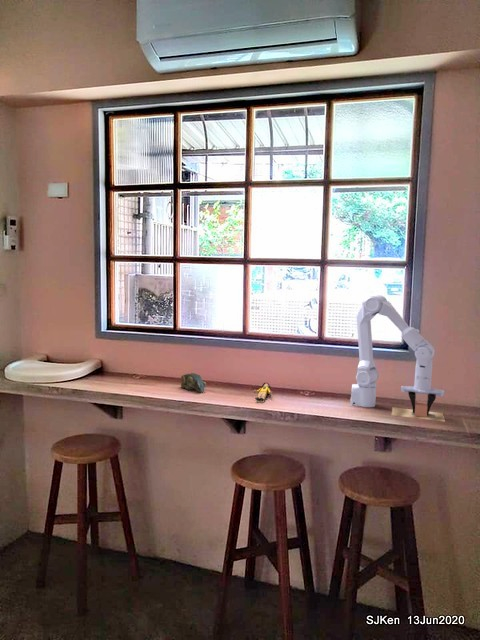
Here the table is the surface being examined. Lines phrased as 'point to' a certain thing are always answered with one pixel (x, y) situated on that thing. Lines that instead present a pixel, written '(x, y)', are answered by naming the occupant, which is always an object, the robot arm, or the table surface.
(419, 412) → the block
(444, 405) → the table surface
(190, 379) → the sculpture
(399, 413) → the board
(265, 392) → the toy
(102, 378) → the table surface
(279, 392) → the table surface
